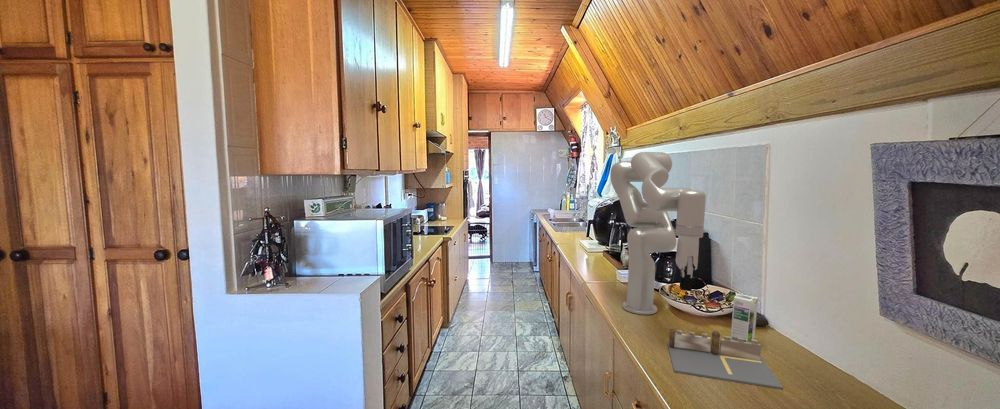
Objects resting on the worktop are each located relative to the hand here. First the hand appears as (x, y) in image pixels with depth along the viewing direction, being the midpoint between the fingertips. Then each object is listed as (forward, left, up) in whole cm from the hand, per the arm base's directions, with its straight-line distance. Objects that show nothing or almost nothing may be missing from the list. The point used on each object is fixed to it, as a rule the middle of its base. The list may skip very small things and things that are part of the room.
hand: (685, 289), depth 121 cm
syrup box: (-7, +18, -17) cm, 26 cm away
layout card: (+11, +8, -17) cm, 22 cm away
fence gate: (+6, +1, -16) cm, 17 cm away
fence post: (+6, +13, -17) cm, 22 cm away
